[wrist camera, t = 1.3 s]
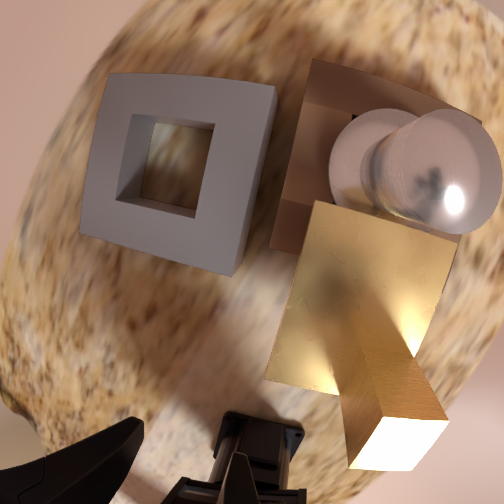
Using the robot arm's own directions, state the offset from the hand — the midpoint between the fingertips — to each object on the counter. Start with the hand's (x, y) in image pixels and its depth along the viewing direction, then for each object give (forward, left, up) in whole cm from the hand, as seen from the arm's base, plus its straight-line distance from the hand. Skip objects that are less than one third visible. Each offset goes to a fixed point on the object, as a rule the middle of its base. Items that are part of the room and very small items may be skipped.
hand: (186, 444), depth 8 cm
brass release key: (+3, -5, -8) cm, 10 cm away
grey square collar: (+7, +6, -12) cm, 15 cm away
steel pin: (+9, -5, -12) cm, 16 cm away
